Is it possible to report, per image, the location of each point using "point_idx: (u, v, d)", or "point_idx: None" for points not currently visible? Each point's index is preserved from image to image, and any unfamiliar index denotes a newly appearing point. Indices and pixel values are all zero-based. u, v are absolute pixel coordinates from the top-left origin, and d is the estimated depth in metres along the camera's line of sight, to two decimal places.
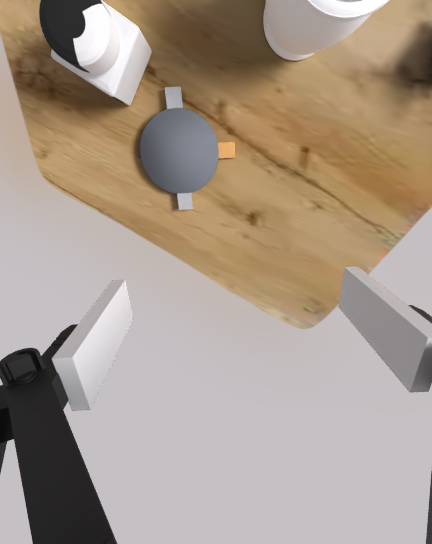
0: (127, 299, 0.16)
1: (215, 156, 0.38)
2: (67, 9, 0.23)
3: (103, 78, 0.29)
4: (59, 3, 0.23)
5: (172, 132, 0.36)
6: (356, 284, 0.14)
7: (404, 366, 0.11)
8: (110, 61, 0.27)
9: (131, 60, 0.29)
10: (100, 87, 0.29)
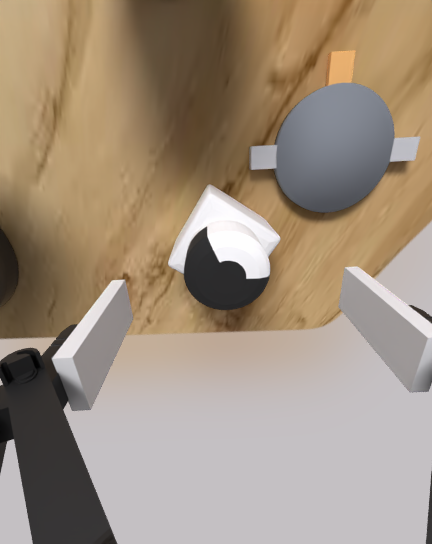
0: (127, 299, 0.16)
1: (350, 89, 0.23)
2: (217, 279, 0.18)
3: (261, 247, 0.22)
4: (212, 286, 0.18)
5: (305, 163, 0.25)
6: (356, 284, 0.14)
7: (404, 366, 0.11)
8: (255, 235, 0.20)
9: (238, 208, 0.22)
10: (270, 252, 0.22)
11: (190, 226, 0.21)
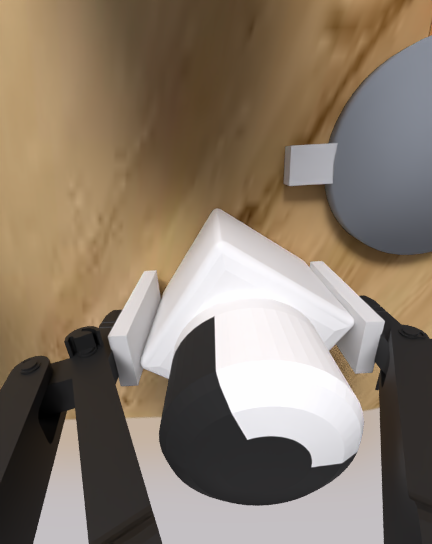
0: (158, 289, 0.17)
1: None
2: (240, 468, 0.07)
3: None
4: (226, 482, 0.07)
5: (384, 174, 0.14)
6: (318, 277, 0.15)
7: (351, 350, 0.12)
8: (318, 337, 0.09)
9: (274, 264, 0.11)
10: (333, 345, 0.12)
11: (180, 302, 0.11)
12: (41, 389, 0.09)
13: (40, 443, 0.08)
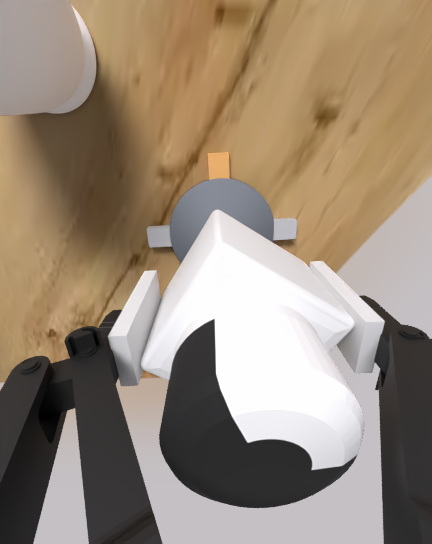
0: (158, 289, 0.17)
1: (227, 183, 0.26)
2: (240, 471, 0.07)
3: None
4: (227, 484, 0.07)
5: None
6: (318, 277, 0.15)
7: (351, 350, 0.12)
8: (318, 339, 0.09)
9: (274, 265, 0.11)
10: (333, 347, 0.12)
11: (180, 303, 0.11)
12: (41, 389, 0.09)
13: (40, 443, 0.08)
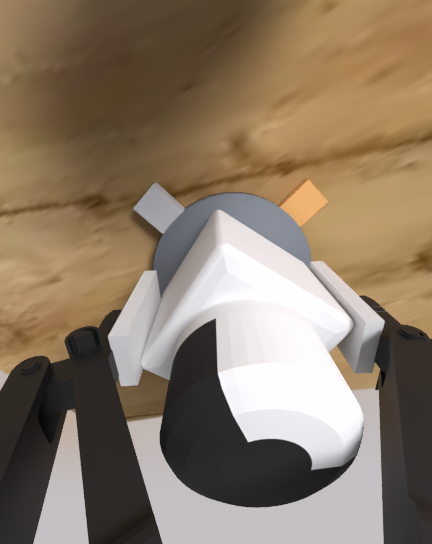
0: (158, 289, 0.17)
1: (294, 231, 0.17)
2: (240, 470, 0.07)
3: None
4: (226, 483, 0.07)
5: None
6: (318, 277, 0.15)
7: (351, 350, 0.12)
8: (319, 339, 0.09)
9: (275, 266, 0.11)
10: None
11: (181, 303, 0.11)
12: (41, 389, 0.09)
13: (40, 443, 0.08)
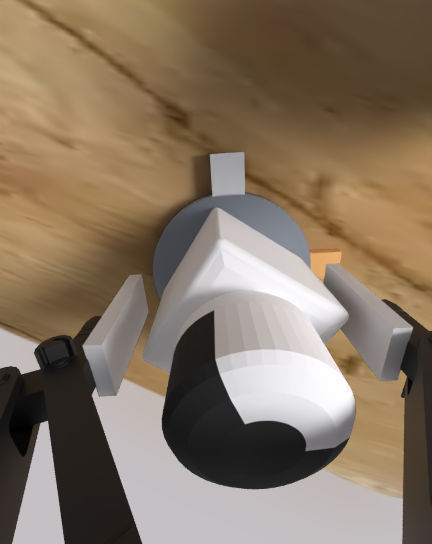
0: (144, 293, 0.16)
1: None
2: (238, 452, 0.08)
3: None
4: (225, 465, 0.08)
5: None
6: (335, 280, 0.15)
7: (375, 356, 0.11)
8: (313, 329, 0.09)
9: (271, 261, 0.12)
10: (329, 339, 0.12)
11: (181, 297, 0.11)
12: (11, 401, 0.08)
13: (12, 457, 0.08)
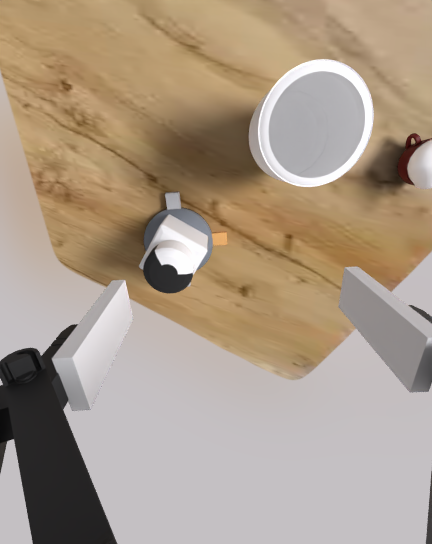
0: (127, 299, 0.16)
1: (209, 245, 0.43)
2: (161, 274, 0.32)
3: (195, 255, 0.36)
4: (158, 279, 0.32)
5: None
6: (356, 284, 0.14)
7: (404, 366, 0.11)
8: (186, 249, 0.33)
9: (181, 232, 0.36)
10: (201, 258, 0.36)
11: (151, 243, 0.35)
12: None
13: None
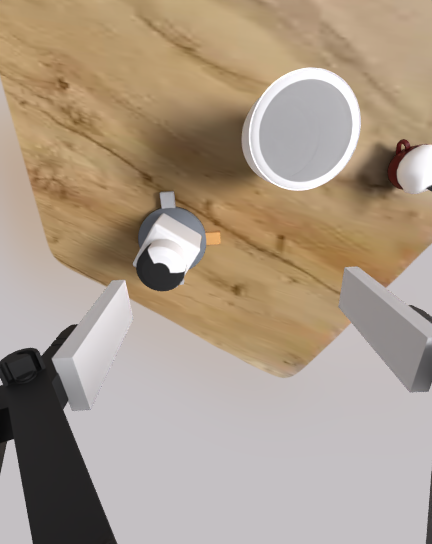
0: (127, 299, 0.16)
1: (203, 244, 0.44)
2: (154, 272, 0.32)
3: (188, 254, 0.37)
4: (151, 277, 0.33)
5: None
6: (356, 284, 0.14)
7: (404, 366, 0.11)
8: (179, 248, 0.34)
9: (174, 231, 0.37)
10: (194, 257, 0.37)
11: (144, 242, 0.36)
12: None
13: None
